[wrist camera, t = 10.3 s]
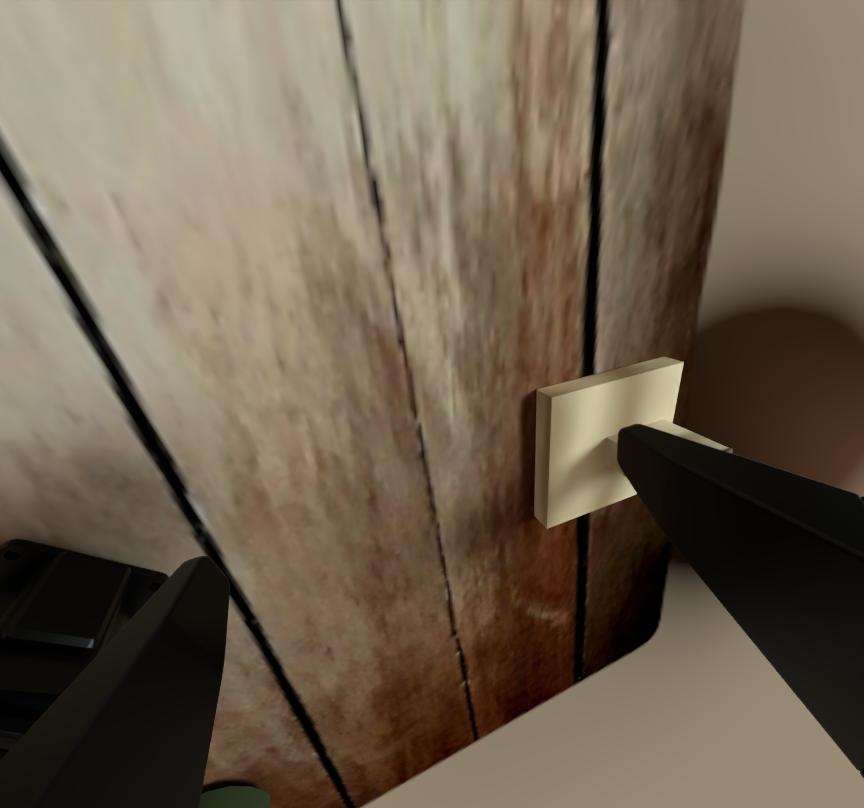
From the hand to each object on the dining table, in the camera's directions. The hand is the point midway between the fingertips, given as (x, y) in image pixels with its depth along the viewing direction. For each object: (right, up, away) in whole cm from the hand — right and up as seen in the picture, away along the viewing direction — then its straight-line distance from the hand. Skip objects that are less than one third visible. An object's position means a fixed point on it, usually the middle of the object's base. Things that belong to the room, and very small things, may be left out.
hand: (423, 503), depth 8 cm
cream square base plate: (+12, 0, +19) cm, 23 cm away
